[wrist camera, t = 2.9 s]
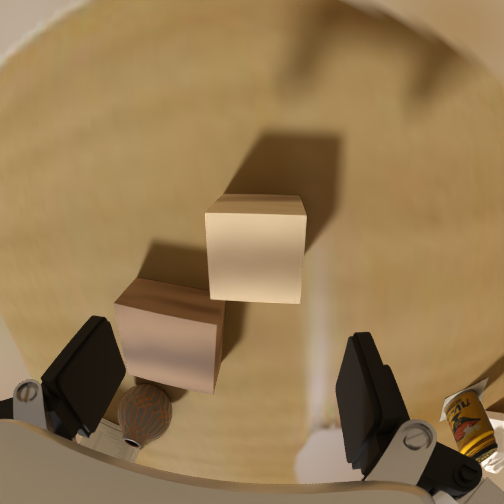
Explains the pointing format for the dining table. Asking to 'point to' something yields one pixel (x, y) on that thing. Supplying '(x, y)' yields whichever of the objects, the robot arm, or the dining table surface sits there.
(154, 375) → the walnut block
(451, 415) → the condiment
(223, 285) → the oak cube
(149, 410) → the vase
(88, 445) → the supplement box
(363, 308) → the dining table surface
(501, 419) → the white faceted lump
